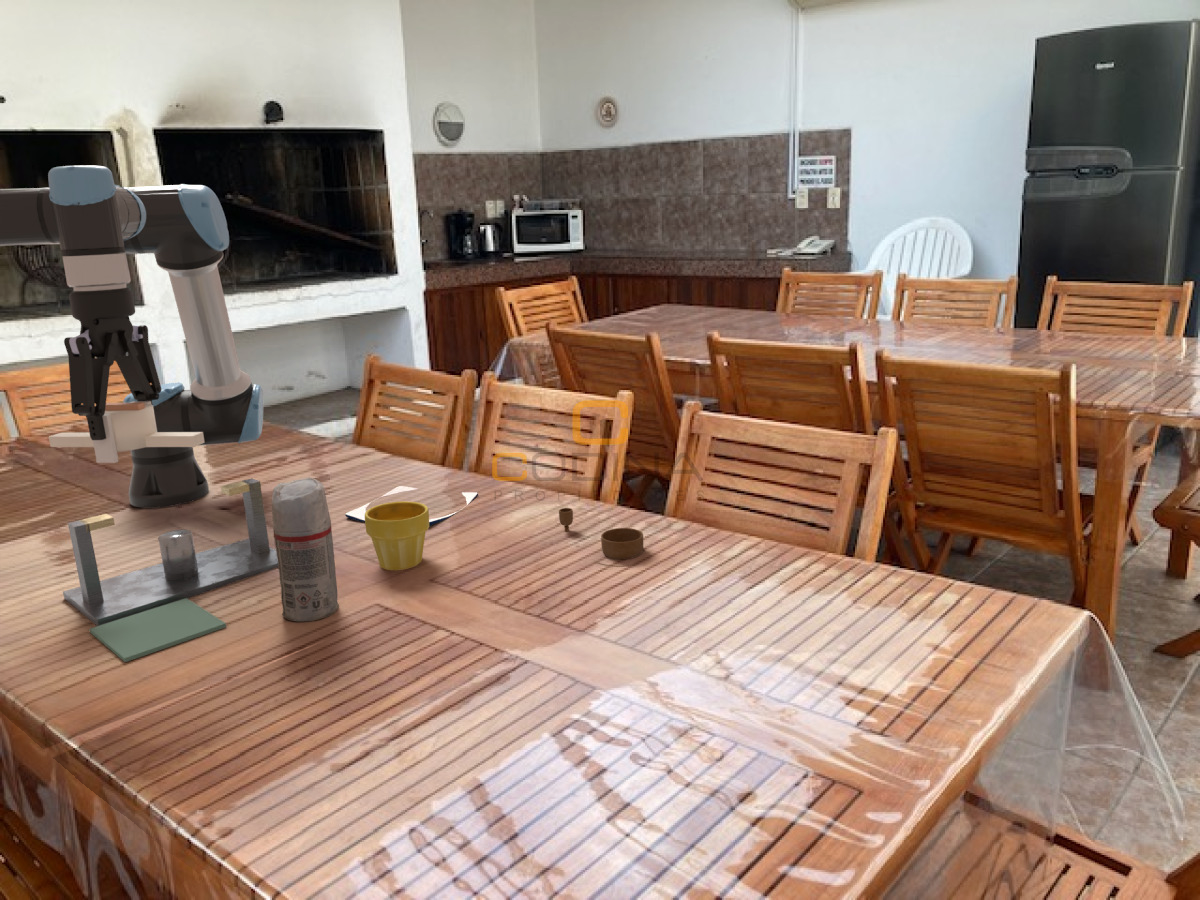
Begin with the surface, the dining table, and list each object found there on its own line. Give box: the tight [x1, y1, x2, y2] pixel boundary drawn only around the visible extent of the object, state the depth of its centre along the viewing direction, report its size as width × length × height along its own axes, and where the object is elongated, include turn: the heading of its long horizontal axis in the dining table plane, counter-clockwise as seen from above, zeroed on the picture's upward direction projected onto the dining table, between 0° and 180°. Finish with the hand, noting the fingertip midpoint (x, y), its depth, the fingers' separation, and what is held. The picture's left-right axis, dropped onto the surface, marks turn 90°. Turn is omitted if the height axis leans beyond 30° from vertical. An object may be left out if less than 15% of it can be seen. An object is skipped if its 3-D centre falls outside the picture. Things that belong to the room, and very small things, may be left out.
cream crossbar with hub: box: [48, 402, 205, 453], centre depth 129 cm, size 22×8×6 cm, turn 80°
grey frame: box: [62, 478, 278, 627], centre depth 152 cm, size 31×16×14 cm, turn 135°
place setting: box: [558, 507, 644, 568], centre depth 158 cm, size 18×20×6 cm
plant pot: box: [364, 500, 430, 571], centre depth 155 cm, size 10×10×10 cm
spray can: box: [271, 476, 340, 622], centre depth 137 cm, size 8×8×20 cm
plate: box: [344, 485, 479, 527], centre depth 182 cm, size 20×20×3 cm
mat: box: [89, 598, 227, 663], centre depth 135 cm, size 14×14×1 cm
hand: (128, 453), depth 130 cm, fingers closed on cream crossbar with hub, 8 cm apart
